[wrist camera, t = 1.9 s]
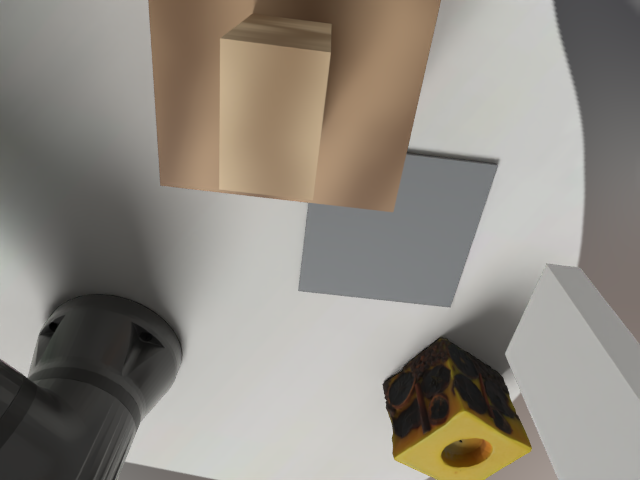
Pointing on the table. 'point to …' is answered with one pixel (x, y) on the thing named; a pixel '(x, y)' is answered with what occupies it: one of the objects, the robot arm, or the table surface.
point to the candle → (453, 416)
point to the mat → (400, 236)
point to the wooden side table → (289, 96)
